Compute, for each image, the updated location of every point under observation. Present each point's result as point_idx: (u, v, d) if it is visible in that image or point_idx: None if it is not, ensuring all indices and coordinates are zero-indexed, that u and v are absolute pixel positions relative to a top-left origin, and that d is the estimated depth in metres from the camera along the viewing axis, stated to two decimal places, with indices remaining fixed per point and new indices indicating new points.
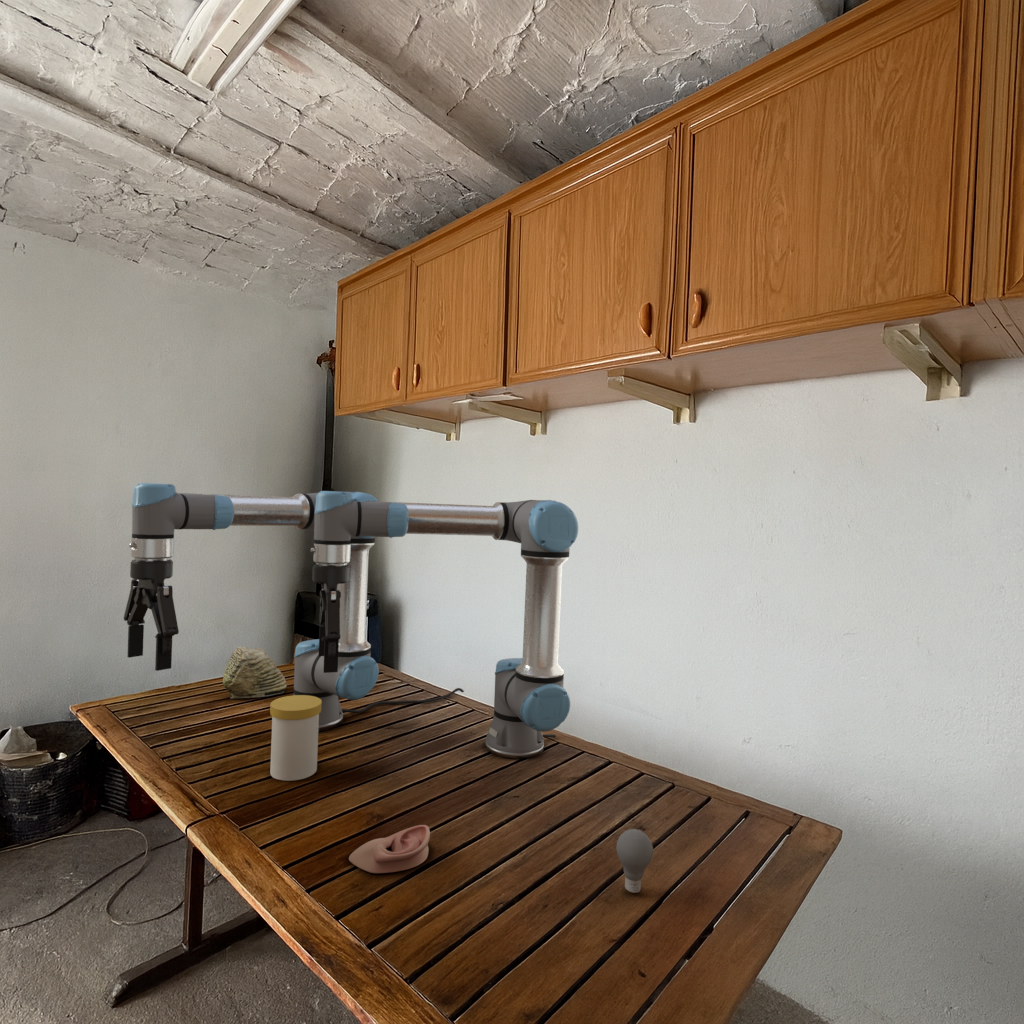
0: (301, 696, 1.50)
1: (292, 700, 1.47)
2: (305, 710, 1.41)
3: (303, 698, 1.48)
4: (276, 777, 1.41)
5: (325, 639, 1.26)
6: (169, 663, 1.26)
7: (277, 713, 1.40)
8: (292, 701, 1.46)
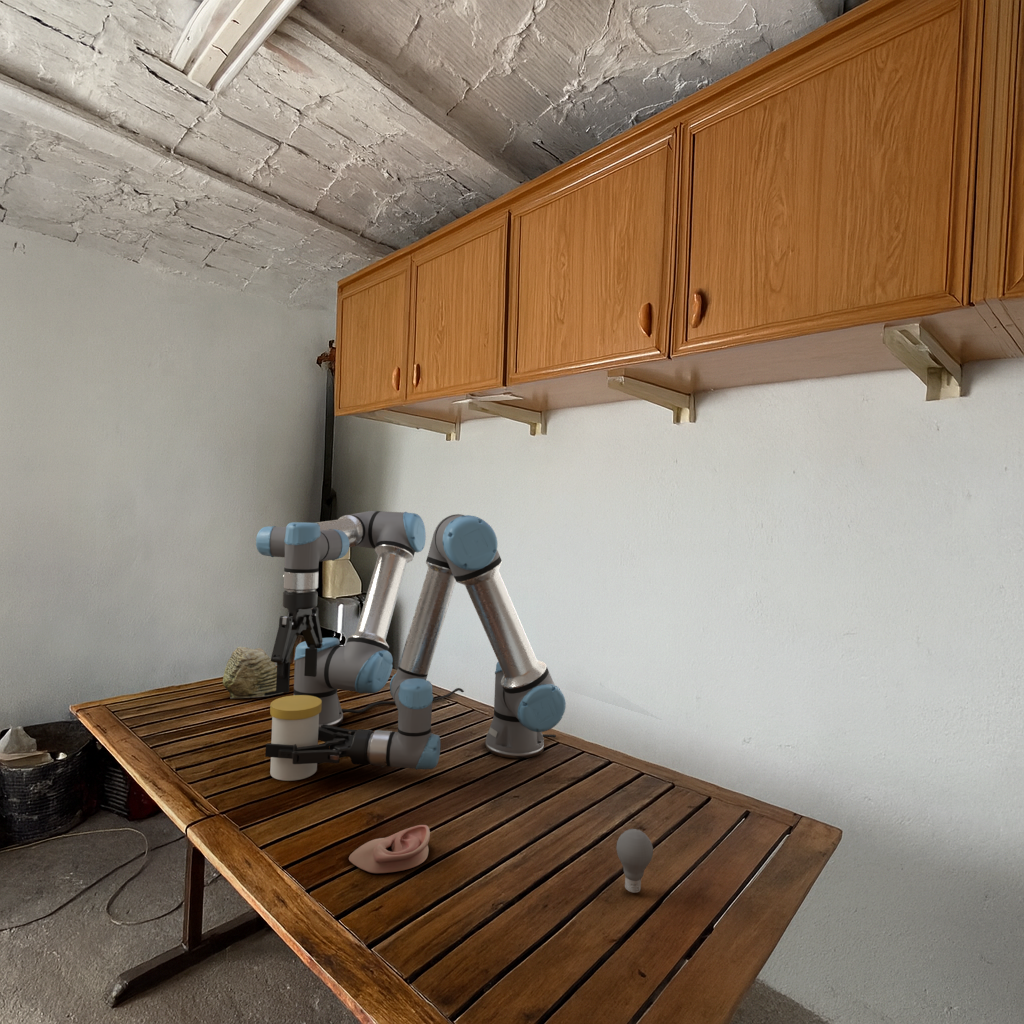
0: (301, 696, 1.50)
1: (292, 700, 1.47)
2: (305, 710, 1.41)
3: (303, 698, 1.48)
4: (276, 777, 1.41)
5: None
6: (286, 687, 1.38)
7: (277, 713, 1.40)
8: (292, 701, 1.46)
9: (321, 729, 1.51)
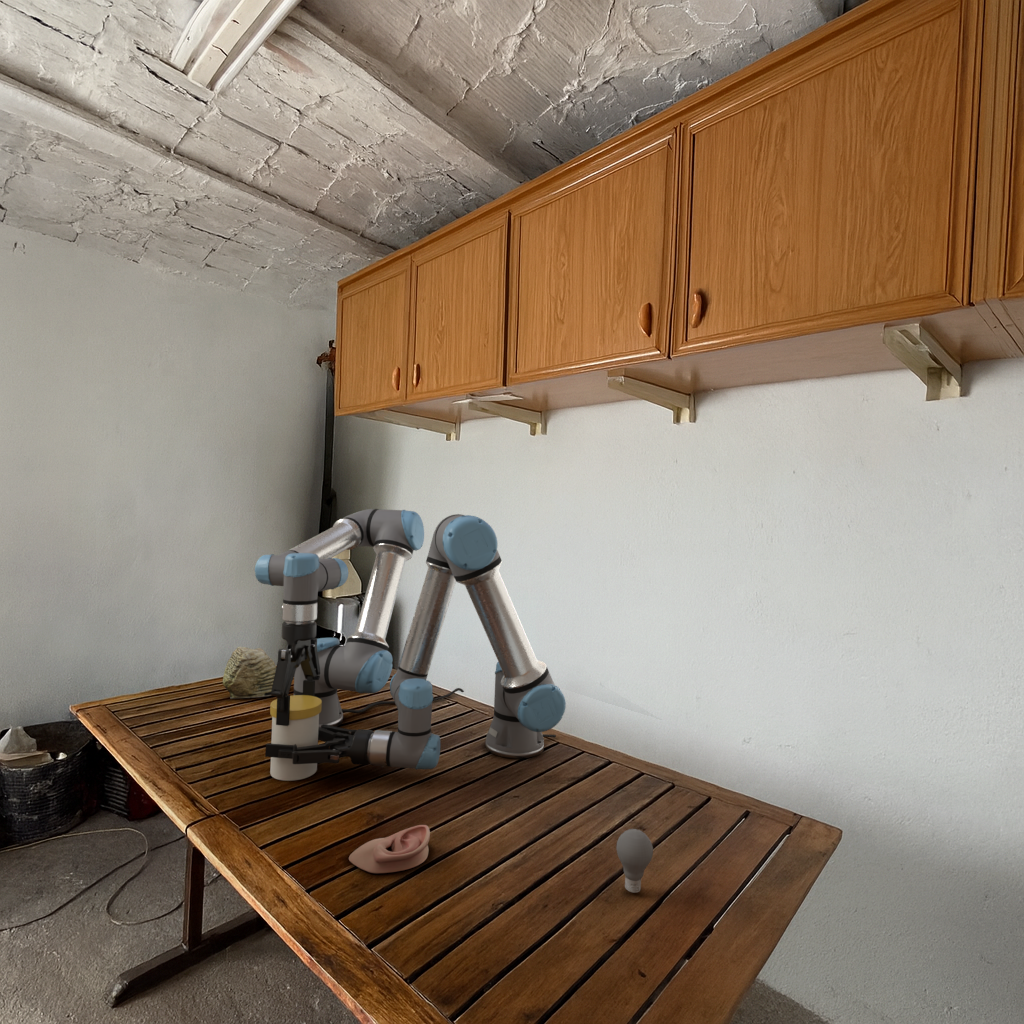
0: (301, 696, 1.50)
1: (292, 700, 1.47)
2: (305, 710, 1.41)
3: (303, 698, 1.48)
4: (276, 777, 1.41)
5: None
6: (286, 721, 1.39)
7: None
8: (292, 701, 1.46)
9: (321, 729, 1.51)
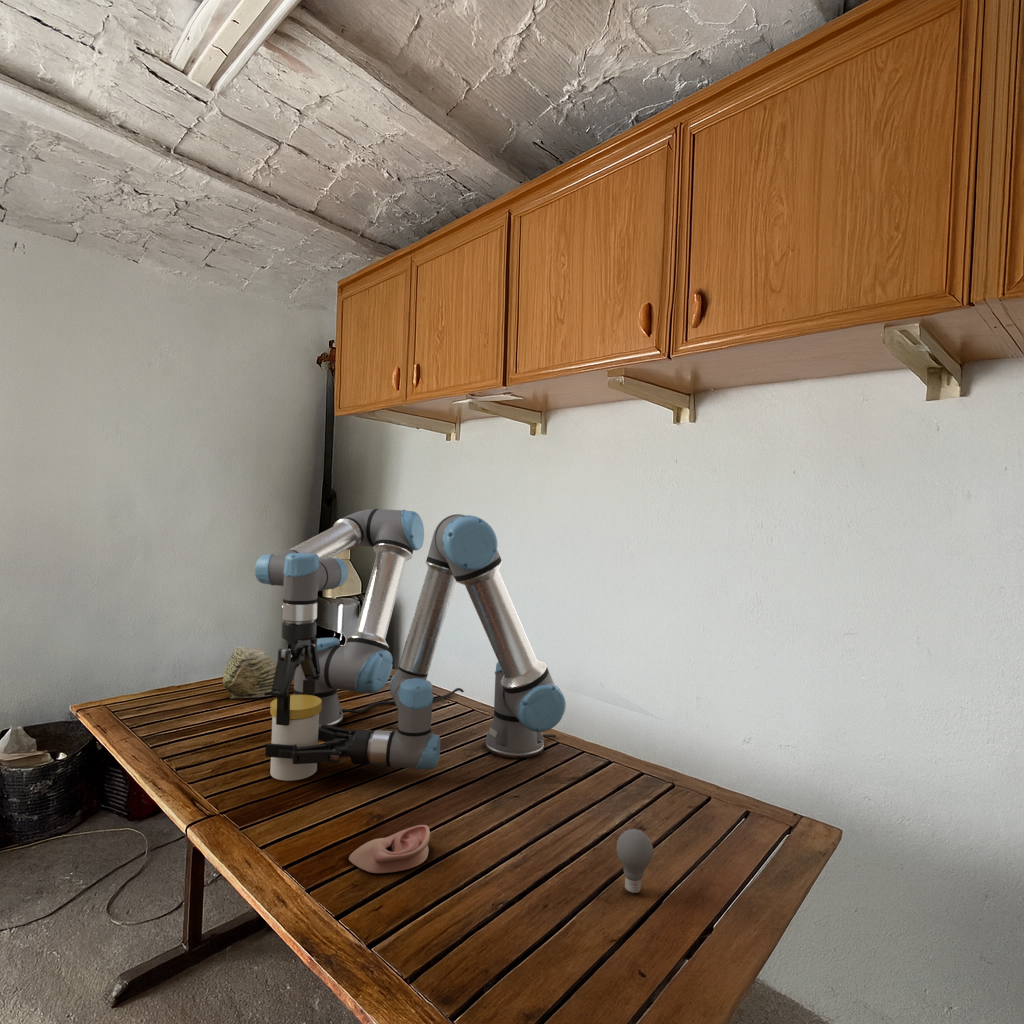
0: None
1: None
2: (321, 700, 1.48)
3: None
4: (276, 777, 1.41)
5: None
6: (286, 720, 1.39)
7: (312, 711, 1.42)
8: (291, 703, 1.44)
9: (321, 729, 1.51)
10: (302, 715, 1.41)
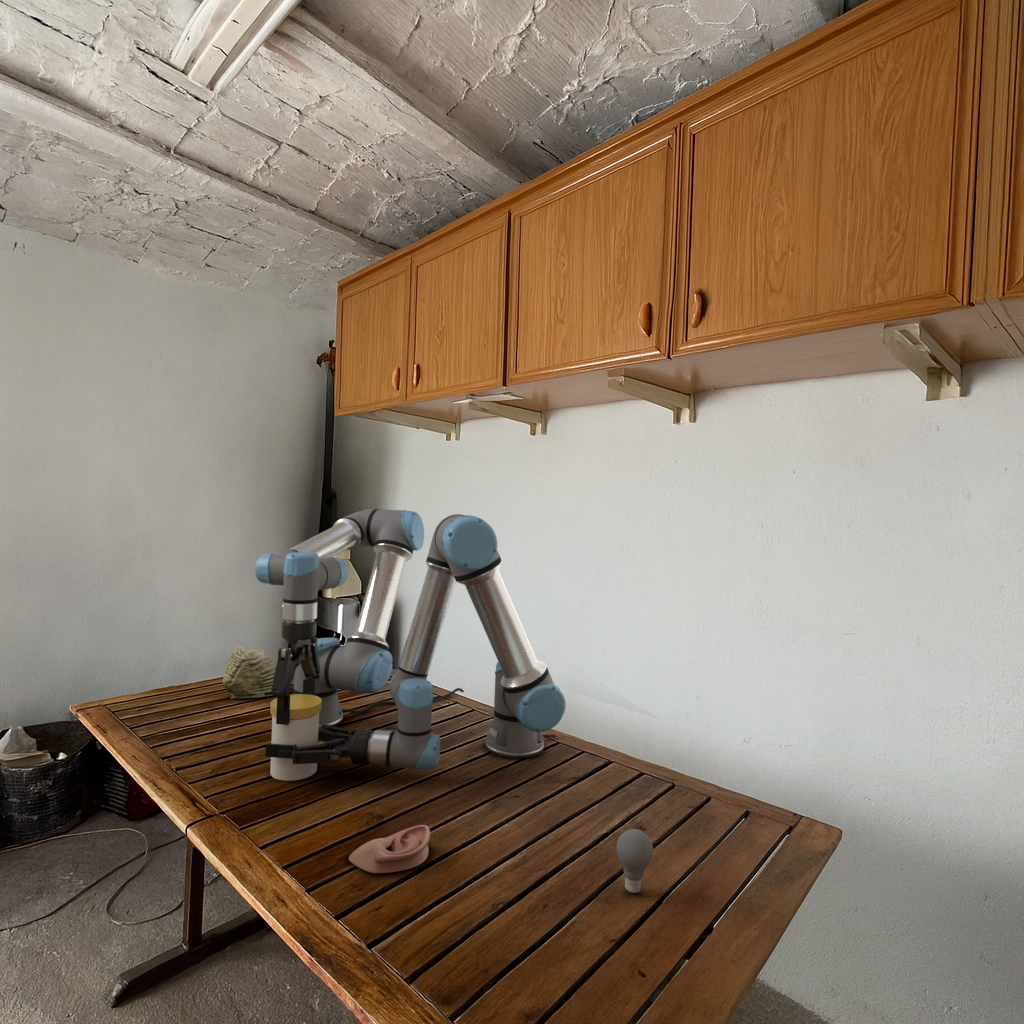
0: None
1: (297, 704, 1.44)
2: None
3: None
4: (276, 777, 1.41)
5: None
6: (286, 720, 1.39)
7: None
8: (298, 702, 1.44)
9: (321, 729, 1.51)
10: None
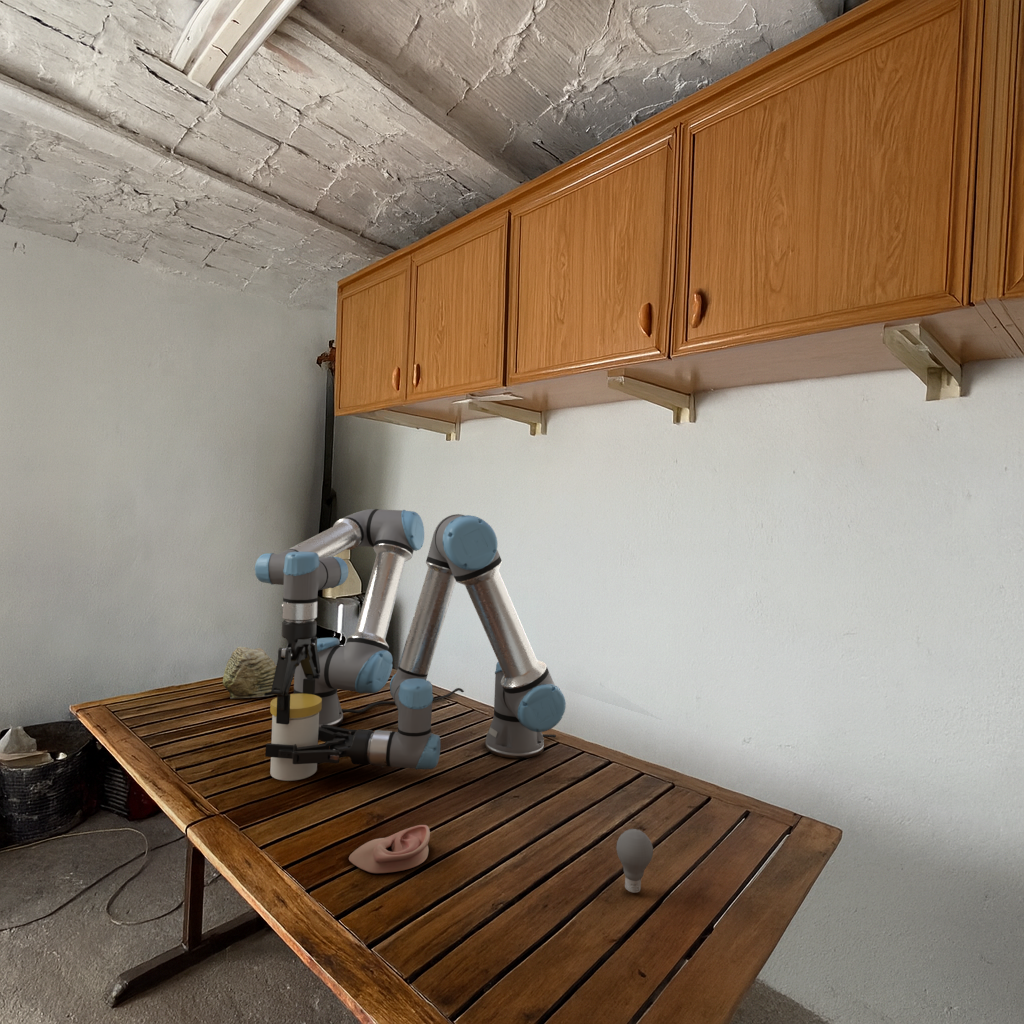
0: (311, 704, 1.44)
1: (305, 700, 1.46)
2: None
3: (304, 704, 1.43)
4: (276, 777, 1.41)
5: None
6: (286, 719, 1.39)
7: None
8: (302, 700, 1.46)
9: (321, 729, 1.51)
10: None
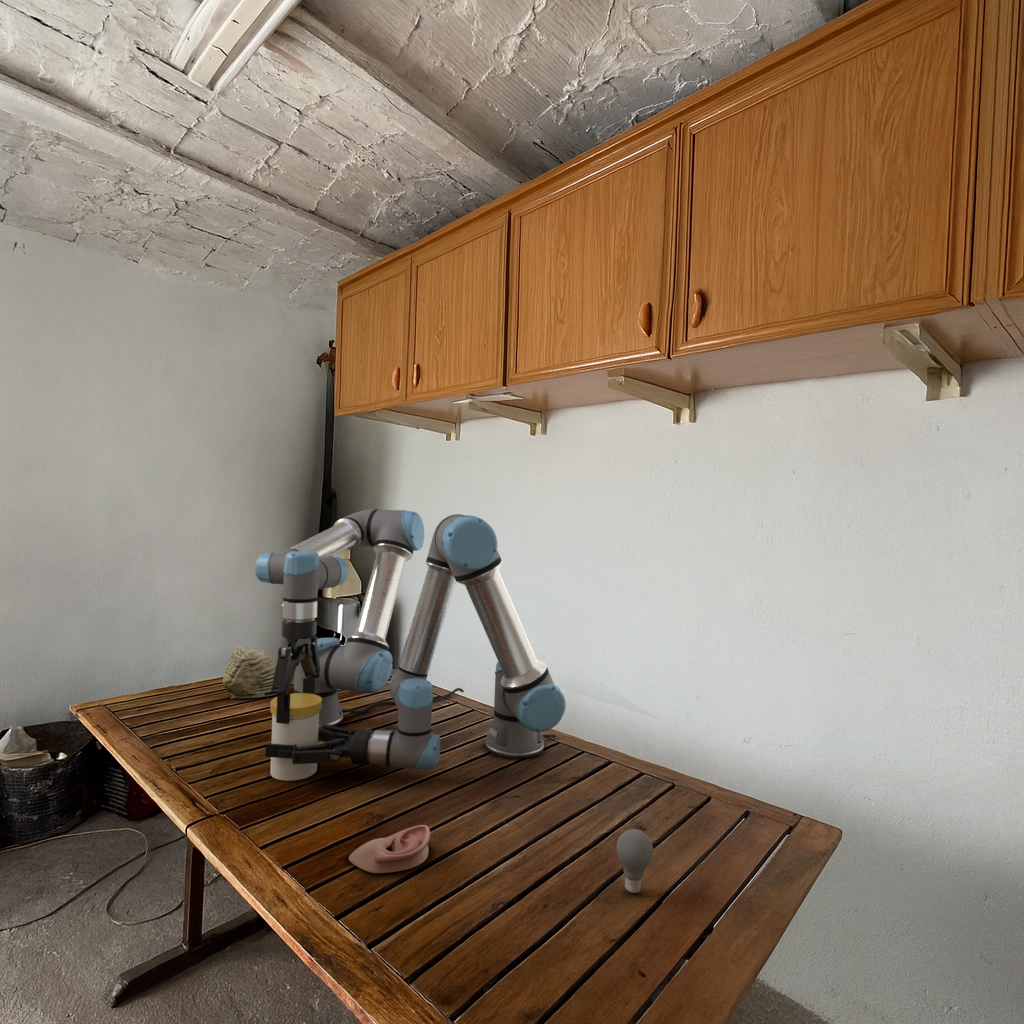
0: (311, 696, 1.49)
1: (297, 697, 1.47)
2: None
3: (309, 697, 1.47)
4: (276, 777, 1.41)
5: None
6: (286, 719, 1.39)
7: (270, 707, 1.43)
8: (295, 698, 1.46)
9: (322, 729, 1.51)
10: None
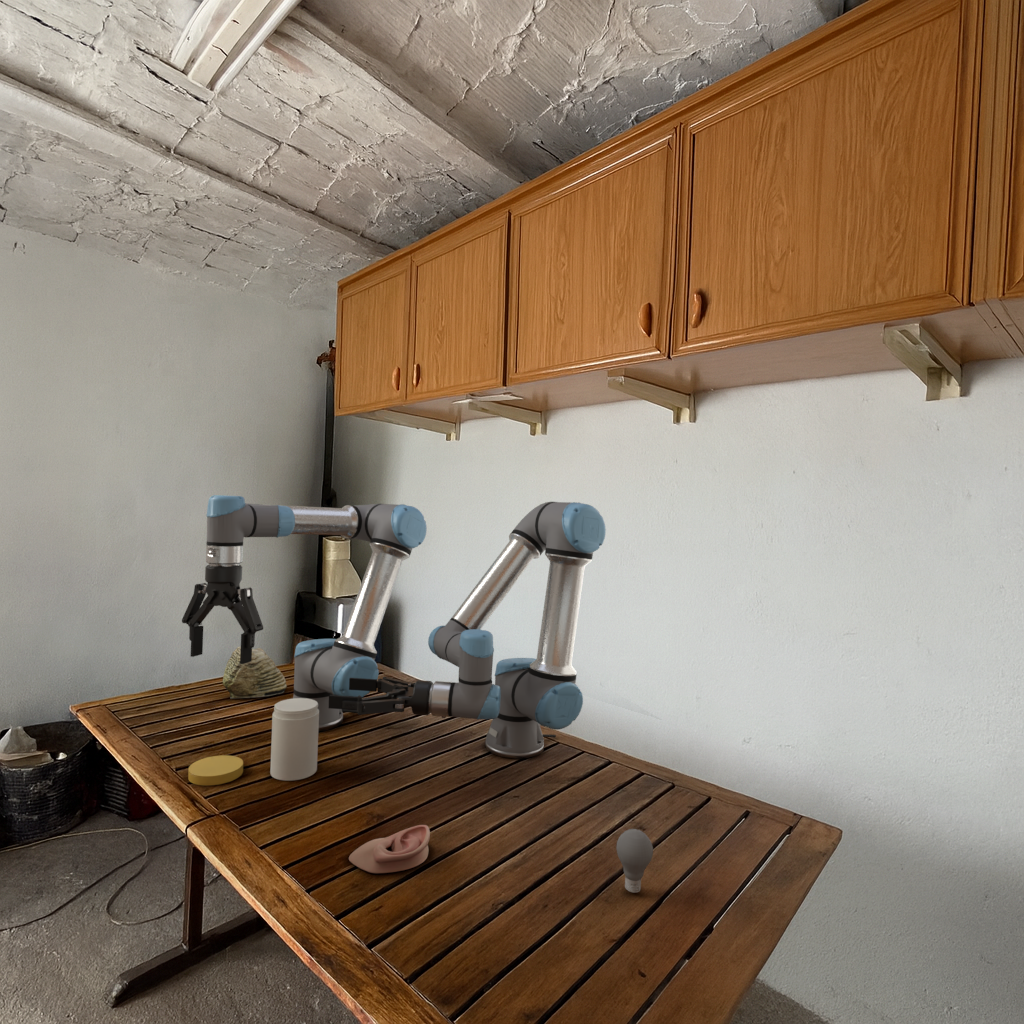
0: (208, 759, 1.45)
1: (207, 765, 1.42)
2: (239, 768, 1.41)
3: (213, 760, 1.45)
4: (276, 777, 1.41)
5: None
6: (250, 657, 1.41)
7: (213, 780, 1.37)
8: (210, 765, 1.42)
9: (383, 680, 1.51)
10: (202, 782, 1.37)
